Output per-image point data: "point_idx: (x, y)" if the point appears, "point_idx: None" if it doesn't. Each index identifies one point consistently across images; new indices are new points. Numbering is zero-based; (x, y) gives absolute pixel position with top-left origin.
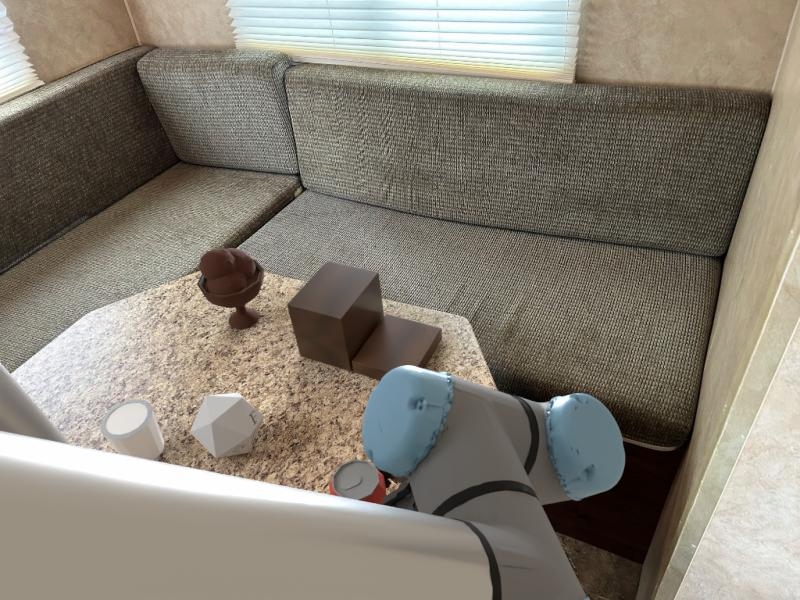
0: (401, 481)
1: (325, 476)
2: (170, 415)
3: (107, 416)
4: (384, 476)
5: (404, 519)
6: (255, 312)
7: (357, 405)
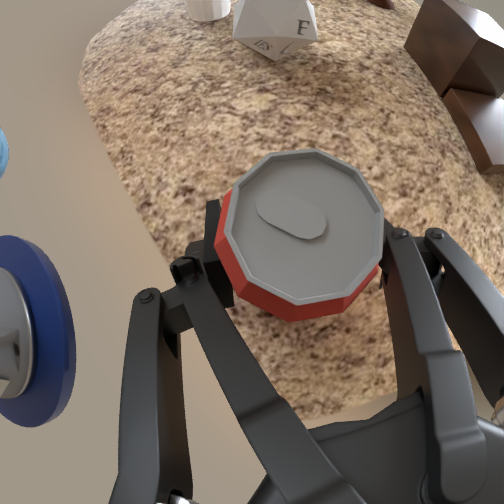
0: (391, 318)
1: None
2: None
3: None
4: None
5: None
6: (392, 3)
7: (421, 125)
